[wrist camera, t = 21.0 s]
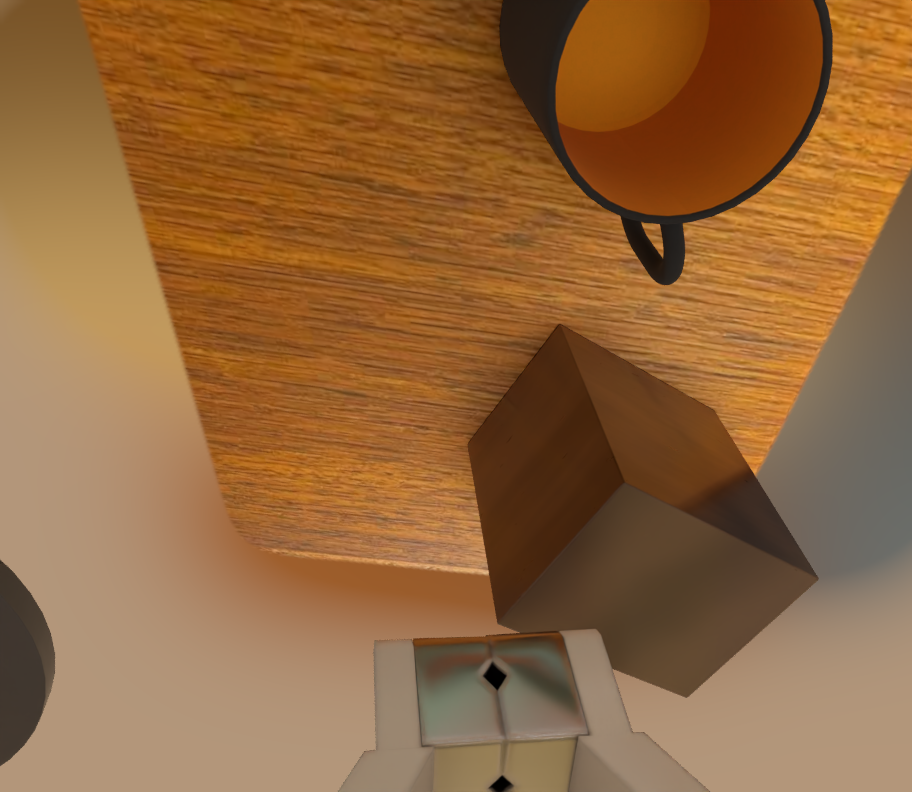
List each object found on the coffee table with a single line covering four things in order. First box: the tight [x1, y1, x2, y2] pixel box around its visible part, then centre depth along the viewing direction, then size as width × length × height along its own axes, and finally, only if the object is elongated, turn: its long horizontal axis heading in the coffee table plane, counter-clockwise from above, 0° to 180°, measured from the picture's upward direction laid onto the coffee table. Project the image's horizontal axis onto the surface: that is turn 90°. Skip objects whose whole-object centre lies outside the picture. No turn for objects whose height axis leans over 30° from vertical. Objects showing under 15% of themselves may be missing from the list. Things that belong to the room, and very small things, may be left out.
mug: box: [500, 0, 832, 285], centre depth 29 cm, size 8×12×10 cm
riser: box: [468, 325, 818, 698], centre depth 38 cm, size 10×8×12 cm
